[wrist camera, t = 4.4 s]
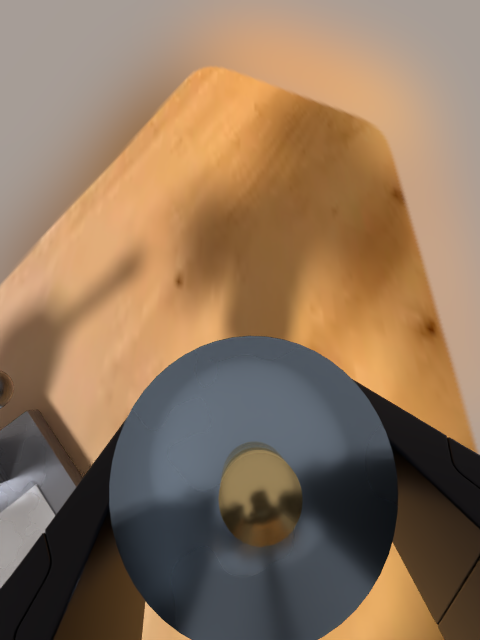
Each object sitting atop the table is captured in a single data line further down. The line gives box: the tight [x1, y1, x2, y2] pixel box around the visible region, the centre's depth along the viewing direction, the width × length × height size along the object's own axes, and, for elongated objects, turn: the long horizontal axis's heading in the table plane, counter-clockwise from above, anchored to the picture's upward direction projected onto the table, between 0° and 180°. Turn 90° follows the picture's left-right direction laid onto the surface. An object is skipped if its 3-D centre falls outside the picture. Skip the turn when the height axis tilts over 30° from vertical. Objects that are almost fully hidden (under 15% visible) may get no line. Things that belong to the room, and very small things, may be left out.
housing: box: [109, 336, 398, 640], centre depth 10 cm, size 5×5×11 cm
